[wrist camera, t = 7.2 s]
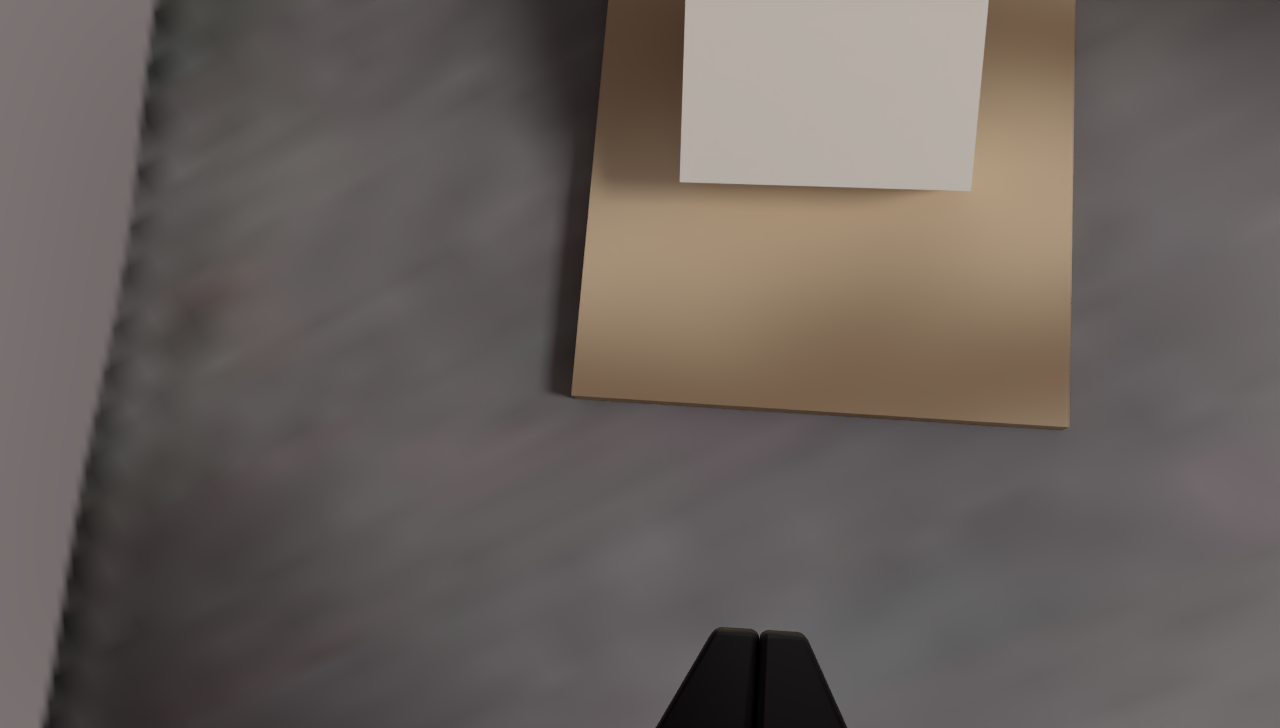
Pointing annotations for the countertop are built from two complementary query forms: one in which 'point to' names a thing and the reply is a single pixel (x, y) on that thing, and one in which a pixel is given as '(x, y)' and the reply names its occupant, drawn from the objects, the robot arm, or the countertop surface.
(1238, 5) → the countertop surface
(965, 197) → the oak strip
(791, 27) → the domino
